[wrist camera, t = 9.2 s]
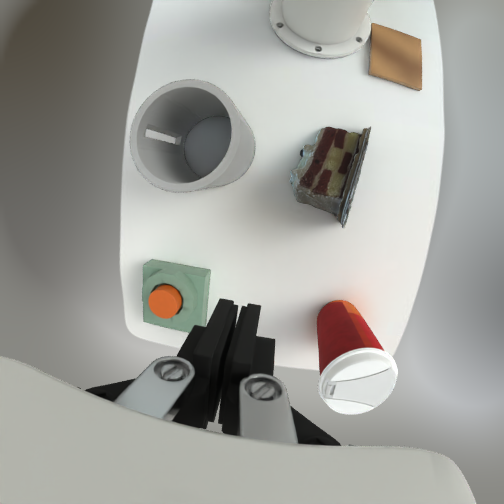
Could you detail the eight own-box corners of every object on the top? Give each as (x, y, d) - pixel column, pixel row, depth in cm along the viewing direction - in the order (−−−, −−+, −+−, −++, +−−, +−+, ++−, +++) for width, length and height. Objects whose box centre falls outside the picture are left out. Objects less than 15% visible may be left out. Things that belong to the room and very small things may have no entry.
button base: (151, 257, 36) (136, 267, 32) (210, 267, 36) (201, 280, 31) (151, 313, 38) (137, 328, 34) (205, 325, 38) (197, 342, 33)
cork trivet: (370, 25, 25) (372, 22, 25) (418, 41, 25) (421, 39, 24) (368, 74, 27) (370, 72, 27) (419, 91, 27) (421, 89, 26)
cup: (265, 172, 32) (256, 170, 20) (191, 196, 34) (147, 208, 22) (241, 100, 30) (220, 63, 18) (170, 126, 32) (119, 108, 20)
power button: (154, 281, 32) (148, 287, 31) (182, 287, 32) (177, 293, 30) (154, 308, 33) (148, 315, 32) (181, 315, 33) (176, 322, 31)
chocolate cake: (314, 105, 30) (273, 162, 24) (373, 121, 28) (353, 185, 22) (310, 166, 38) (275, 230, 32) (360, 181, 35) (336, 251, 30)
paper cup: (304, 342, 37) (312, 418, 24) (312, 290, 35) (327, 356, 22) (360, 344, 36) (387, 415, 23) (371, 293, 34) (412, 354, 21)
